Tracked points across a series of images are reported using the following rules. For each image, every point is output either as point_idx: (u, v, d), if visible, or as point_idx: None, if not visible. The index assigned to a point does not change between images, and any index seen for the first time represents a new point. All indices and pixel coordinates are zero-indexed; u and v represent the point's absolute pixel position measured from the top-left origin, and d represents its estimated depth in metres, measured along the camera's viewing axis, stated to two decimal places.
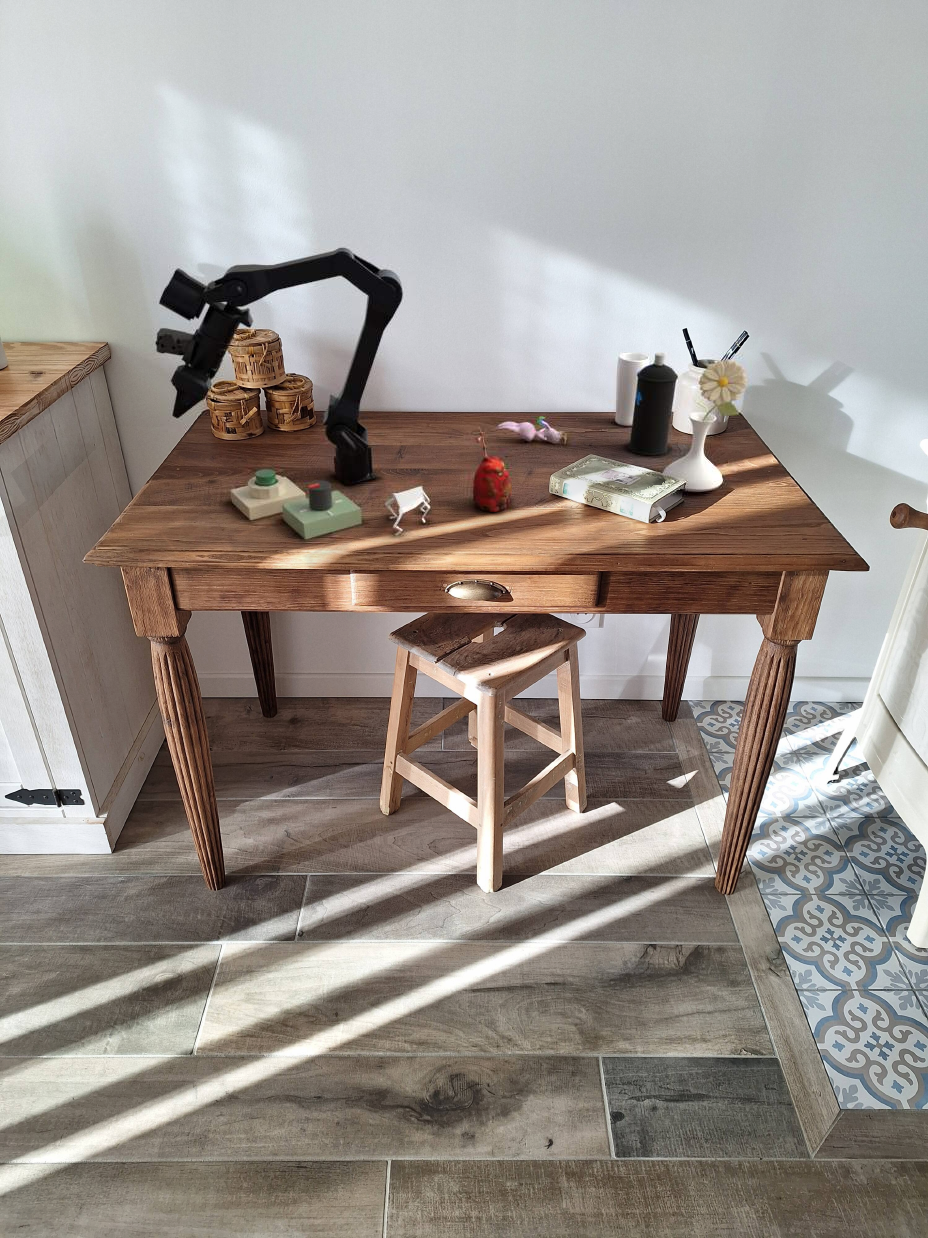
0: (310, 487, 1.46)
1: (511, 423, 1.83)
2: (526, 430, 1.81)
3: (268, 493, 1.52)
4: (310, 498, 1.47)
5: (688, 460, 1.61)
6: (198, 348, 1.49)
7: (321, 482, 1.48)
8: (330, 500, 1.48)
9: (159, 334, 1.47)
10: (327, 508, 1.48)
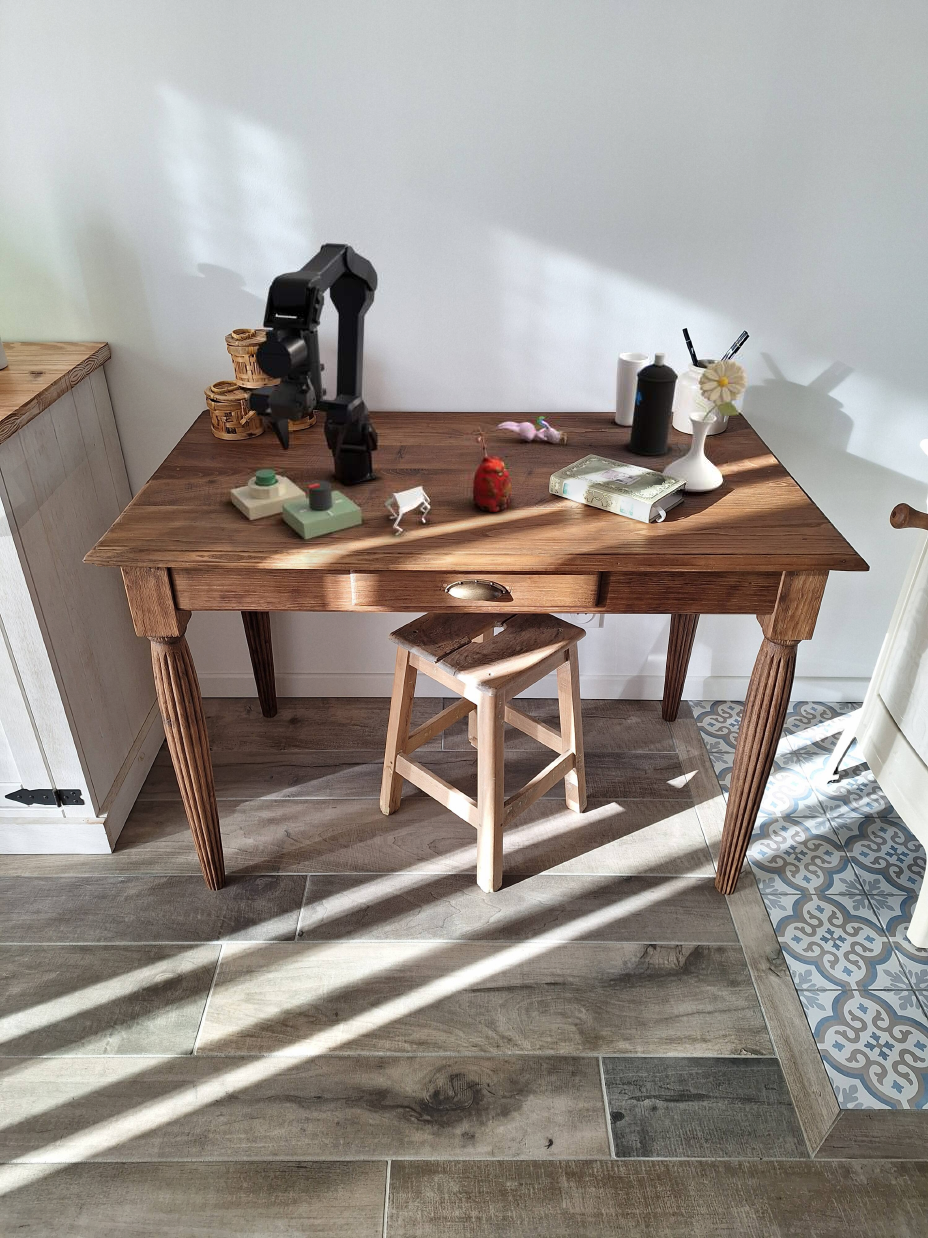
0: (310, 487, 1.46)
1: (511, 423, 1.83)
2: (526, 430, 1.81)
3: (268, 493, 1.52)
4: (310, 498, 1.47)
5: (688, 460, 1.61)
6: (313, 382, 1.35)
7: (321, 482, 1.48)
8: (330, 500, 1.48)
9: (292, 403, 1.31)
10: (327, 508, 1.48)
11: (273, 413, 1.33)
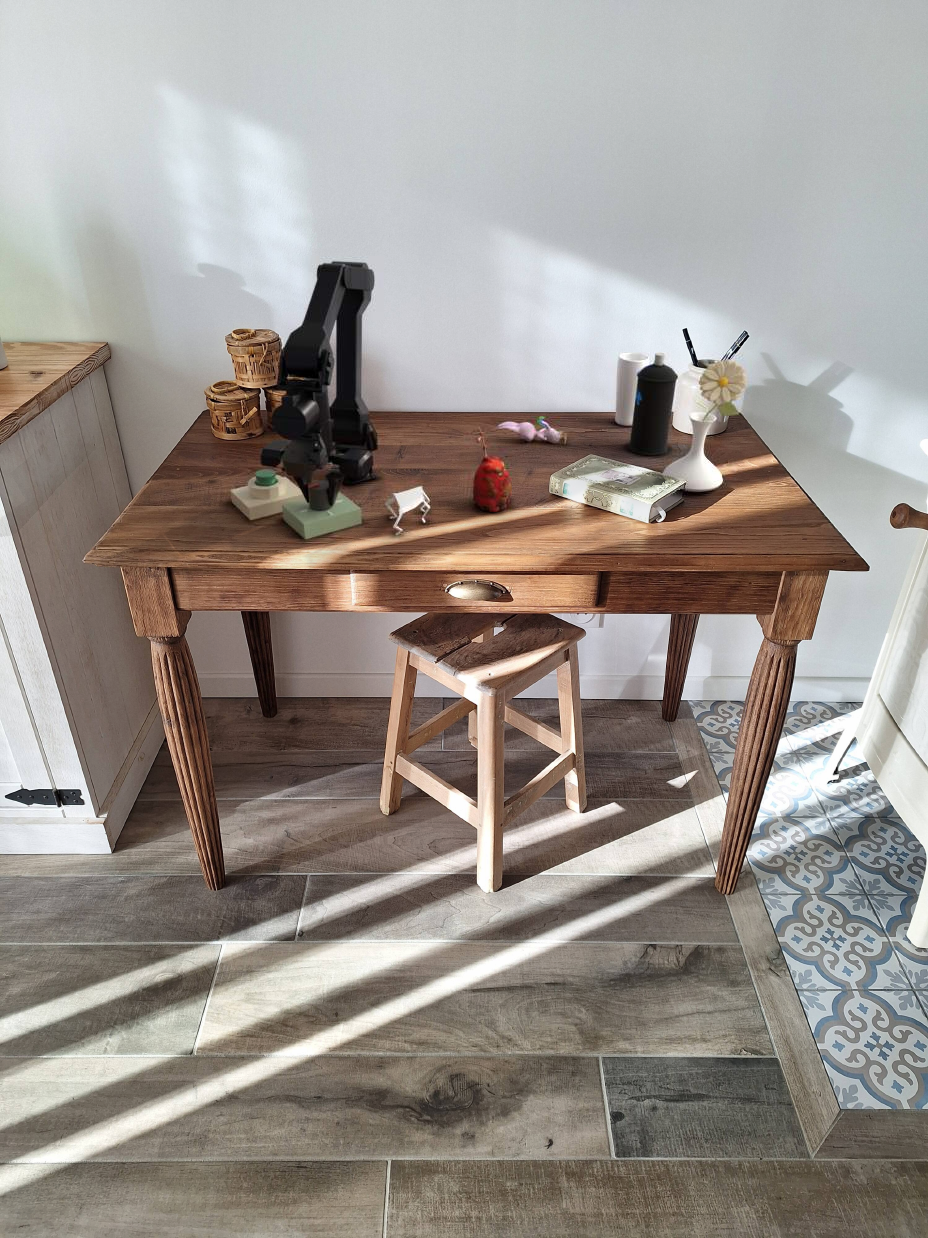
0: (310, 487, 1.46)
1: (511, 423, 1.83)
2: (526, 430, 1.81)
3: (268, 493, 1.52)
4: (310, 498, 1.47)
5: (688, 460, 1.61)
6: (324, 439, 1.41)
7: (321, 482, 1.48)
8: None
9: (306, 461, 1.36)
10: (327, 508, 1.48)
11: (287, 470, 1.38)
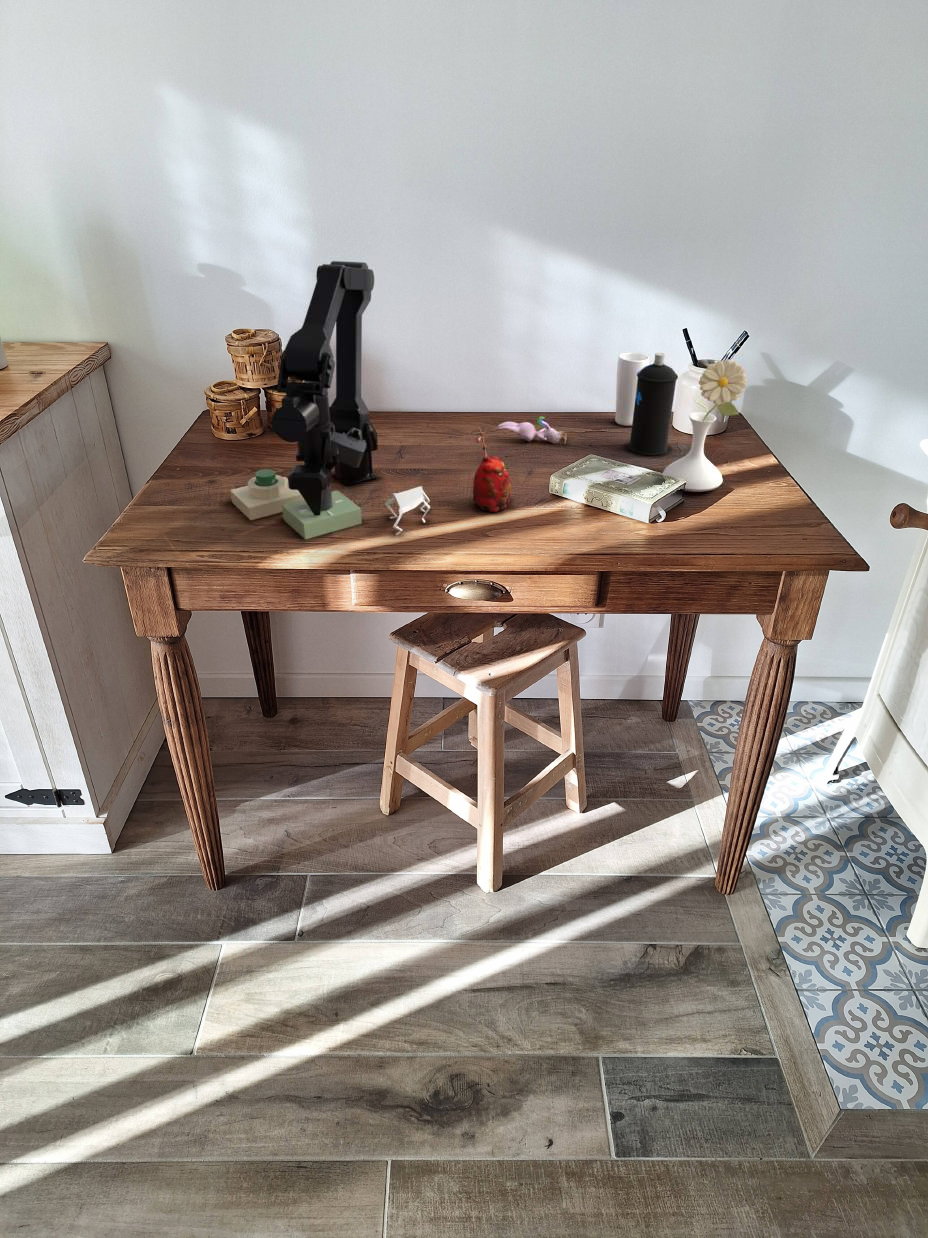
0: None
1: (511, 423, 1.83)
2: (526, 430, 1.81)
3: (268, 493, 1.52)
4: (328, 498, 1.47)
5: (688, 460, 1.61)
6: None
7: None
8: None
9: (364, 442, 1.45)
10: None
11: (360, 461, 1.43)
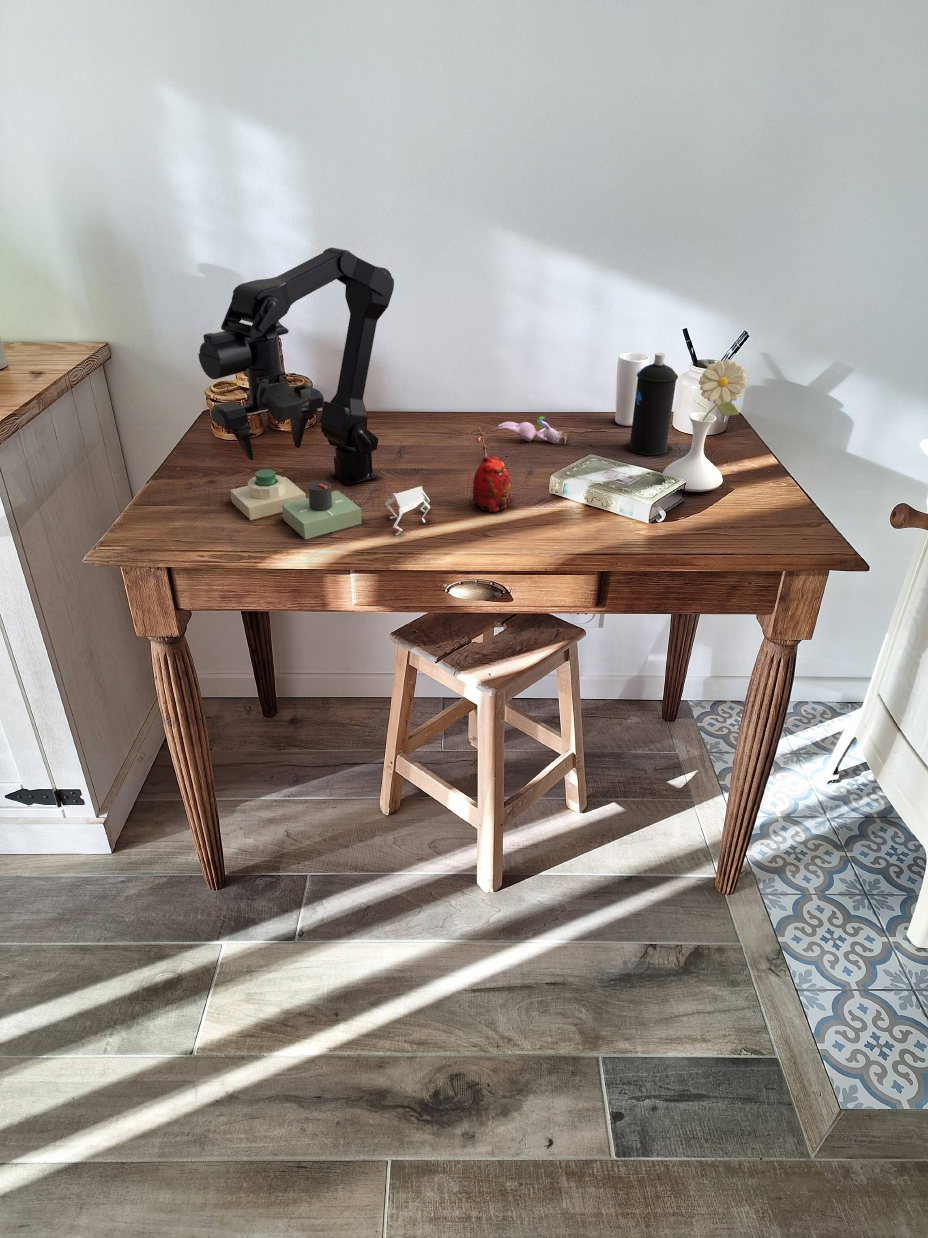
0: None
1: (511, 423, 1.83)
2: (526, 430, 1.81)
3: (268, 493, 1.52)
4: (328, 498, 1.47)
5: (688, 460, 1.61)
6: None
7: (313, 485, 1.47)
8: None
9: (301, 400, 1.39)
10: None
11: (282, 417, 1.39)
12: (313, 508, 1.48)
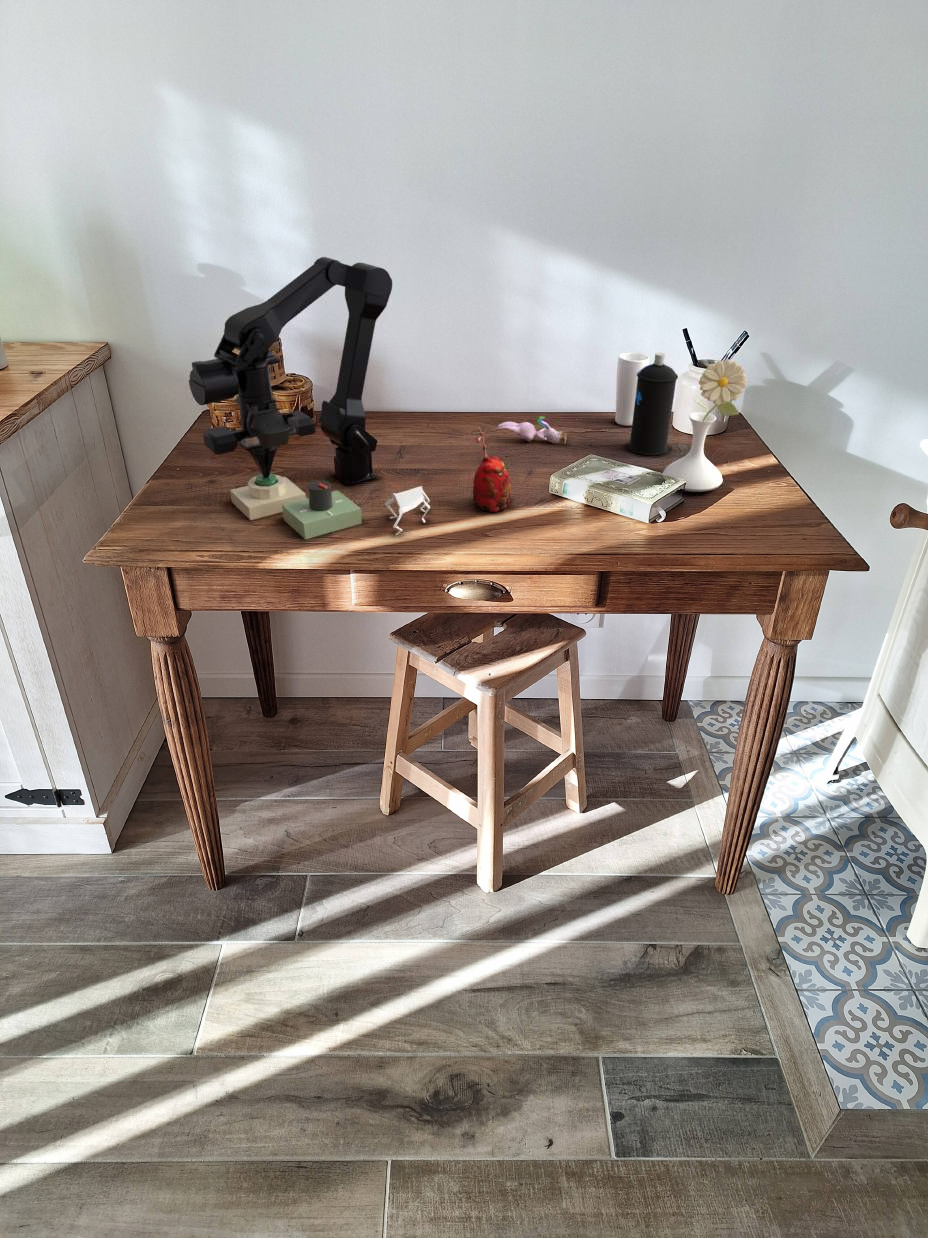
0: None
1: (511, 423, 1.83)
2: (526, 430, 1.81)
3: (268, 493, 1.52)
4: (328, 498, 1.47)
5: (688, 460, 1.61)
6: None
7: (313, 485, 1.47)
8: None
9: (288, 428, 1.43)
10: None
11: (268, 443, 1.43)
12: (313, 508, 1.48)
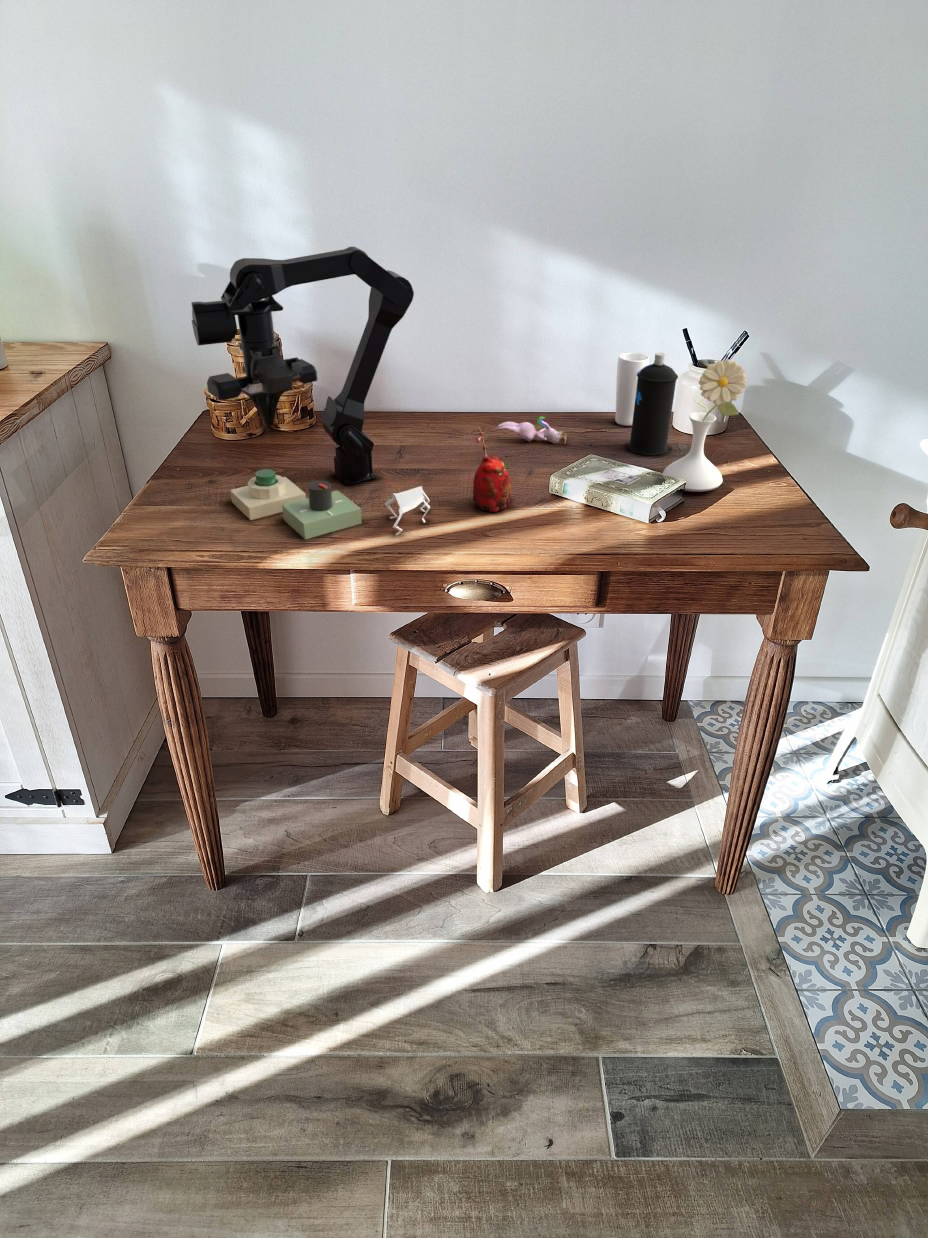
0: None
1: (511, 423, 1.83)
2: (526, 430, 1.81)
3: (268, 493, 1.52)
4: (328, 498, 1.47)
5: (688, 460, 1.61)
6: None
7: (313, 485, 1.47)
8: None
9: (292, 372, 1.44)
10: None
11: (273, 388, 1.44)
12: (313, 508, 1.48)
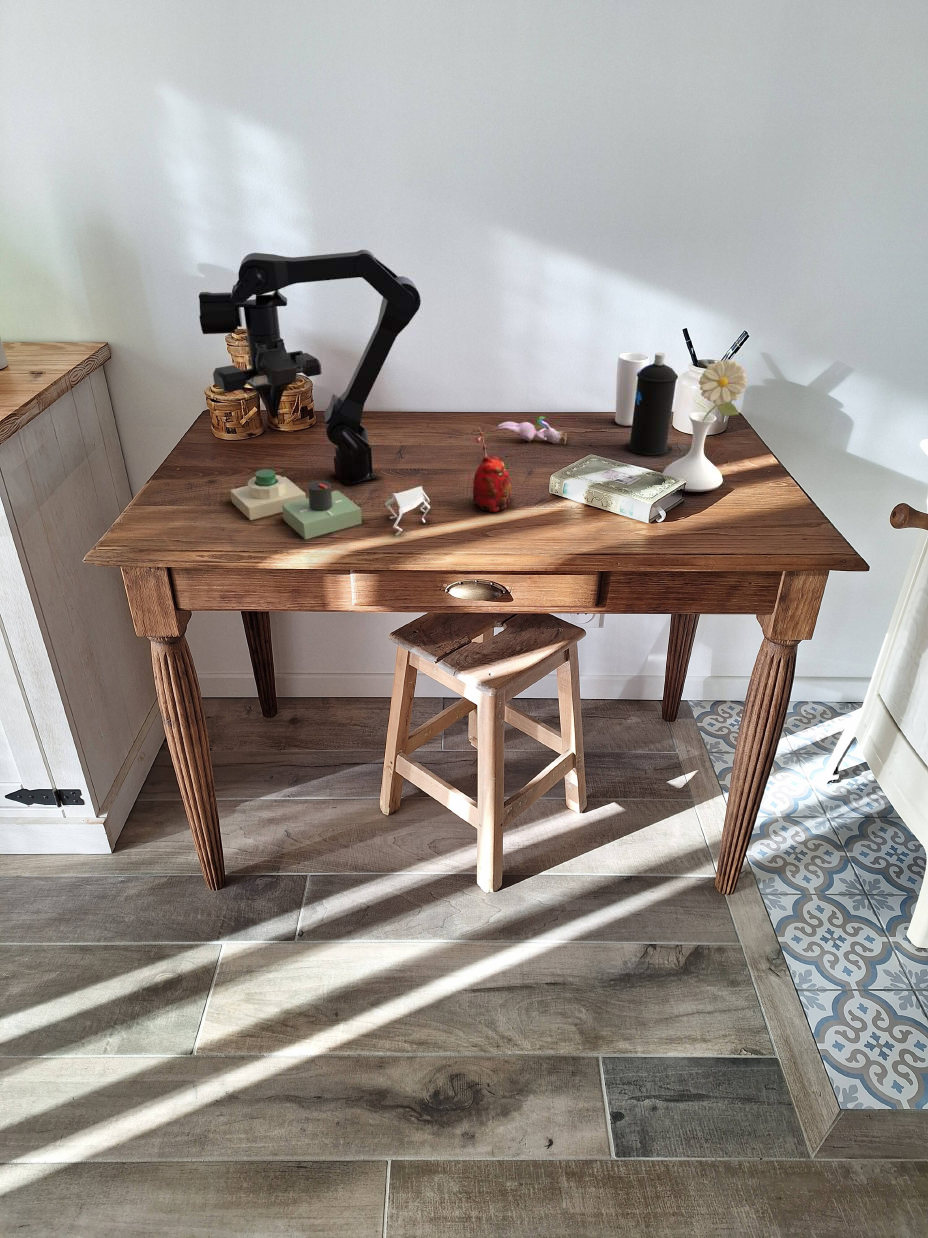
0: None
1: (511, 423, 1.83)
2: (526, 430, 1.81)
3: (268, 493, 1.52)
4: (328, 498, 1.47)
5: (688, 460, 1.61)
6: None
7: (313, 485, 1.47)
8: None
9: (295, 365, 1.47)
10: None
11: (277, 380, 1.47)
12: (313, 508, 1.48)
